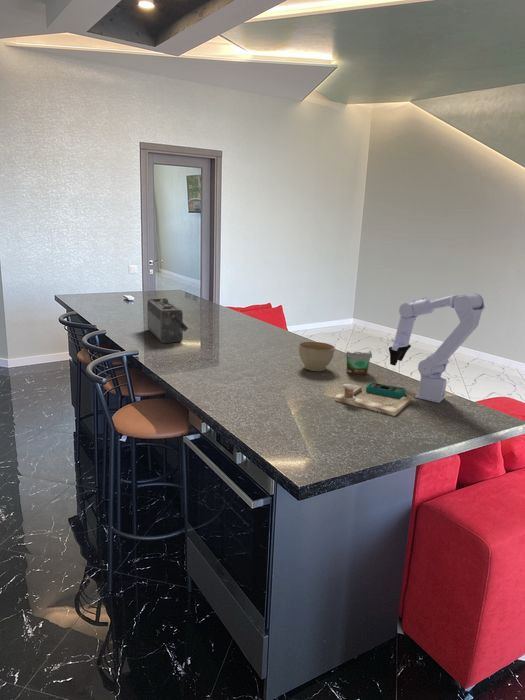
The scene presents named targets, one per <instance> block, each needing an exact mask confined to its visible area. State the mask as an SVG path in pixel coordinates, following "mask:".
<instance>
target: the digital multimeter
mask: <svg viewBox="0 0 525 700" xmlns="http://www.w3.org/2000/svg"><path fill="white" fill-rule="evenodd" d="M365 386H366V387H365V388H366V389H365V392H366V393H370V394H376V395H380V396H387V397H391V398H395V399H396V398H397V399H401V398H402V397H406V396H405V395H406V388H404V387H399V386H393V385H389V384H387V385H386V384H382V383H377V382H370V383H368V384H367V385H365Z"/></svg>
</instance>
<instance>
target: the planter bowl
mask: <svg viewBox="0 0 525 700" xmlns="http://www.w3.org/2000/svg"><path fill="white" fill-rule="evenodd" d="M335 349H336V346H334V345H333V344H330V343H327V342H320V341H302V342H300V343H298V351H299V353H298V354H299V357H300V360H301V362H302V364H303V367H304V369H306V370H308V371H312V372H323V371H325V370H326V368H327V366H329V364H330V363H331V361H332V360H333V357H334V353H335Z"/></svg>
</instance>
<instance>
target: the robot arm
mask: <svg viewBox="0 0 525 700" xmlns="http://www.w3.org/2000/svg"><path fill="white" fill-rule="evenodd" d="M446 307H450V308H451V309H454V311H455V312H456V315H457V317H458V319H459V324H458V325H457V326H456V327H455V328H454V329H453V331H452V332H451V333H450V334H449V335H448V336H447V337H446V338H445V340H444V341H443V342H442V343H441V345H439V346H438V348H437V349H436V350H435V352H433V353H431V354H430V355H428V356H427V357H426V358H425V359H423V360H420V362H419V363H418V364H417V369H418V373H419V374H420V379H419V388H418V393H417V394H416V395H414V398H417V399H421V400H425V401H429V402H433V403H438V404H439V403H441V402H442V401H443V400H444V399H445V395H446V389H447V382H448V381H447V379H446V378H443V377H442V374H443V373H444V372H445V371H446V369H447V366H448V364H449V363H450V361H449V359H450V357H452V356H453V354H454V353H455V352H456V351H457V350H458V349H459V347H461V346H462V344H463V343H464V342H465V341H466V340H467V339H468V338H469V337H470V335H471V334H472V333H473V332H474V331H475V330H476V329H477V327H479V324H480V320H481V315H482V312H483V311H484V309H485V308H486V306H485V301H484V297H482V295H481V294H478V293H472V294H455V295H447V296H446V297H445V296H444V297H441V298H437V299H434V300H433V299H431V298H428V297H422V298H421V299H420V300H411V302H404V303H402V304H400V306H399V308H398V312H399V315H400V318H399V320H398V324H397V328H396V333H395V336H394V338H391V340H390V341H391V342H393V343H392V346H389V347H388V351H389V365H390V366H391V365H392V366H396V365H397V364H398V362H401V361H403V359H404V357H405V355H406V353H407V352H408V351H409V350H410V348H411V347H412V345H411V344H410V340H411V337H412V336H411V335H412V331H413V328H414V324H415V321H416V319H417V317H420V316H423V315H428V314H432V313H434V311H435V309H441V308H446Z"/></svg>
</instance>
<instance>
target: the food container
mask: <svg viewBox="0 0 525 700" xmlns="http://www.w3.org/2000/svg"><path fill="white" fill-rule="evenodd" d="M372 354H373V353H372V351H371V350H369V351H368V352H360V351H357V352H350V351H346V353H345V355H344V356H345V357H346V374H348V375H350V376H351V375H352V376H357V377H359V376H361V377H364V376H367V375H368V371H369V365H370V360H371V359H372V357H373V355H372Z"/></svg>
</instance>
